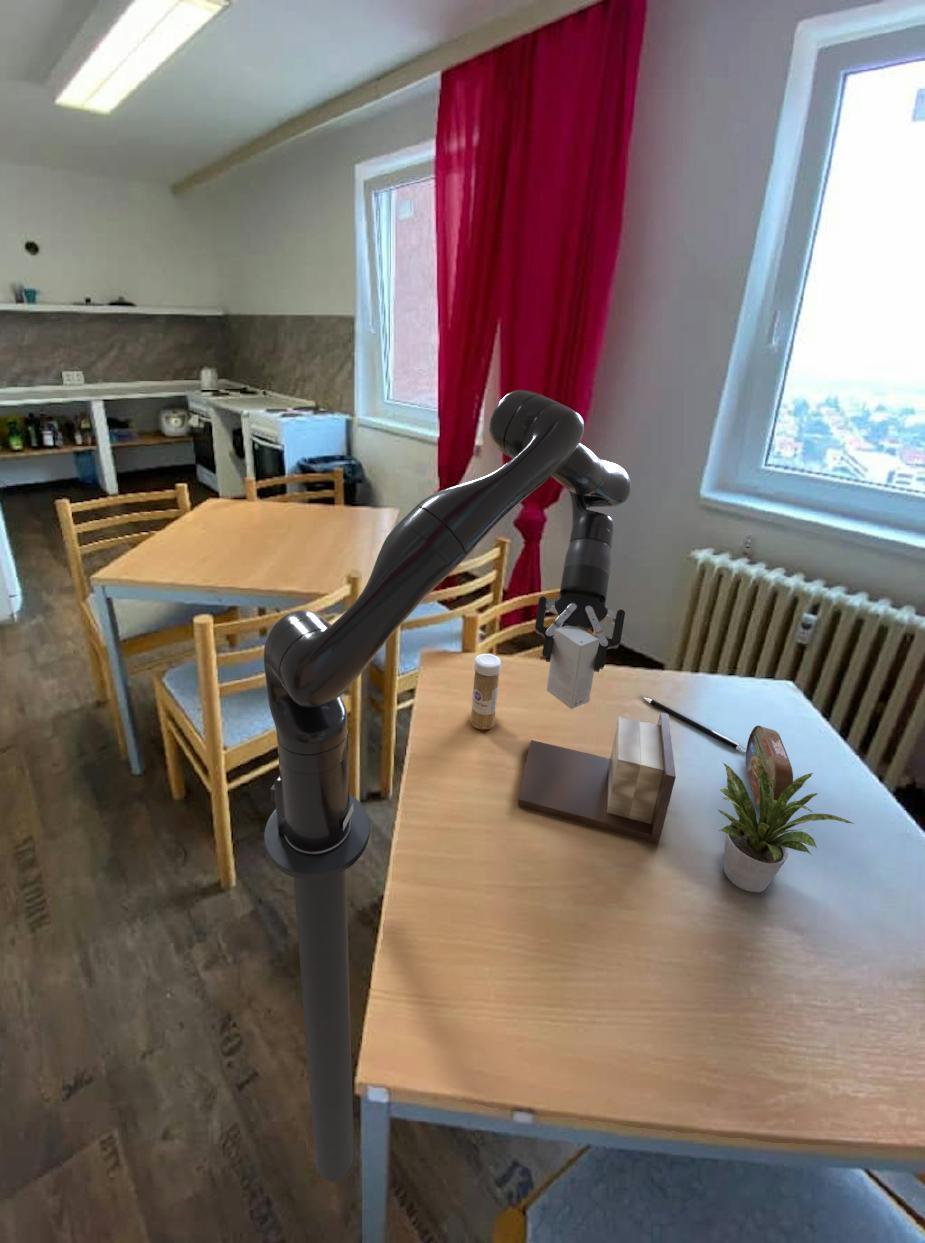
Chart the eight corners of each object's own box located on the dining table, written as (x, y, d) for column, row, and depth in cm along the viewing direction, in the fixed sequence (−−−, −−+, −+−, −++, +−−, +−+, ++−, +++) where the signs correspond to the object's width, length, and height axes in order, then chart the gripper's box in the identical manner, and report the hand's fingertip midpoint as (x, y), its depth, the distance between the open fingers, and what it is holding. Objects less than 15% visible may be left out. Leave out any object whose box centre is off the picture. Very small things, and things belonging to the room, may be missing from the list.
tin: (741, 754, 99) (754, 713, 96) (762, 758, 98) (775, 718, 95) (759, 821, 86) (774, 777, 83) (783, 827, 85) (799, 783, 82)
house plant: (816, 861, 80) (853, 769, 74) (822, 949, 69) (867, 848, 63) (702, 817, 87) (727, 729, 80) (691, 891, 76) (719, 795, 69)
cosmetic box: (590, 702, 96) (601, 639, 91) (570, 710, 94) (581, 646, 89) (563, 683, 101) (572, 622, 96) (545, 690, 99) (553, 628, 94)
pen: (744, 755, 99) (746, 750, 99) (641, 700, 113) (642, 695, 113) (746, 752, 100) (748, 747, 99) (644, 698, 114) (645, 693, 113)
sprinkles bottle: (465, 724, 105) (470, 661, 100) (477, 711, 109) (482, 649, 104) (488, 734, 103) (494, 670, 98) (499, 720, 106) (505, 658, 101)
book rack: (517, 805, 88) (525, 741, 84) (530, 745, 100) (537, 686, 96) (658, 843, 82) (675, 777, 78) (654, 775, 94) (668, 713, 90)
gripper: (543, 556, 98) (526, 651, 92) (634, 569, 93) (622, 670, 88) (543, 572, 104) (527, 662, 99) (628, 585, 100) (616, 680, 94)
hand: (572, 665), depth 93 cm, fingers closed on cosmetic box, 7 cm apart
